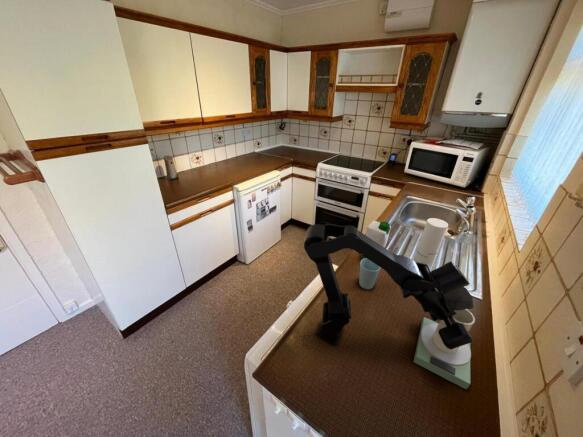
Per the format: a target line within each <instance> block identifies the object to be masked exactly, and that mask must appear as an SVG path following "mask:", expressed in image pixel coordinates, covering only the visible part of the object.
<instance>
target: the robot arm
mask: <svg viewBox="0 0 583 437" xmlns="http://www.w3.org/2000/svg"><path fill="white" fill-rule="evenodd" d="M330 237H334V238H332V239H330ZM344 249H352V250H353V251H355V252H356V253H358V254H359V255H361V257H362V256H364V257H365V258H367V259H368V260H370V261H372V262H373V263H375V264H376V265H378V266H379V267H381V269H382V270H384V271H385V272H386V273H387V274H388V275H389V277H390V278H391V280H392V281H393V282H394V283H395V284H396V285H397V286H398V287H399V289H400V292H401V295H402V298H403V299H407V298H409V297H411V296H412V297H413V298H414V299H415V300H416V301H417V302H418V303H419V304H420V305H421V308H422V311H423V312H424V313H428V314H429V317H430V318H431V320H432V321H434V322H436V321H440V320H444V322H445V324H446V326H447V327H444V328H441V329H440V330H439V332H438V333H439V335H440V337H441V339H442V342H443V344H444V345H445V346H446V347H447V348H448V349H454V348H457V347H460V346H463V345H466V344H469V343H470V344H471V343H473V340H474V338H473V337H472V335H471V333H470V331H469V332H468V330H467V329H466V327H465V325H464V324H462V323H458V322H455V320H454V318H453V315H455V314H457V313H456V311H455V310H464V309H467V310H473V309H474V308H475V305H474V298H473V296H472V294H471V293H470V291H469V290H468V289H467V287H466V286H469V285H471V283H470V282H469V280H468V278H467V277H466V275H465V274H464V273H463V271H462V270H461V269H460V267H459V266H458V265H457V264H455V263H454V262H453V261H447V262H446V263H445V264H443V265H441V266H439V267H437V268H434V269H433V270H432V269H431V270H430V268H429V266H428V265H427V264H423V263H418V262H415V261H414V259H411V258H409V257H408V256H405V255H403V254H396V253H393V252H392V251H390V250H388V249H387V248H384V247H382V246H381V245H379V244H378V243H376V242H375V241H373V240H372V239H370V238H369V237H367V236H366V234H364V233H363V232H361V231H360V230H359V229H358V228H357V227H356V226H354V225H352V224H351V225H349V224H348V225H339V224H333V223H326V224H319V223H315V224H311V225H310V226H309V227H308V228H307V230H306V234H305V238H304V241H303V250H304V251H305V252H306V255H307V256H308V258H309V260H310V261H312V262H313V263H314V264H315V266H316V268H317V272H318V274H319V278H320V280H321V284H322V287H323V289H324V292H325V296H326V297H327V301H325V302H323V304H322V315H321V324H320V327H319V328H318V330H317V331H316V336H317V337H320V338H321V339H323V340H325V341H326V342H328V343H330V344H331V345H333V346H334V345H336V343H337V342H338V340H339V338H340V336H341V334H342V332H343V328H344V327H345V326H346V325H348V324H349V323H350V320H351V319H352V306H351V305H352V304H351V300H350V299H349V293H348V292H346V293H344V292H342V291H341V288H340V285H339V282H338V277H337V275H336V272H335V268H334V264H333V261H332V258H331V254H335V253H337V252H339V251H341V250H344ZM420 272H421V273H420ZM421 274H422V275H421ZM422 276H423V278H422ZM448 318H449V319H450V321H451V323H452V324H451V323H450V321H449V319H448Z"/></svg>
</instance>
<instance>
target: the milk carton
mask: <svg viewBox="0 0 583 437" xmlns="http://www.w3.org/2000/svg"><path fill="white" fill-rule="evenodd" d="M391 228H392V226H391V224H390V223H389V222H387V221H376V220H373V221H372V222H370V223H369V224H368V225H367V226H366V231H365V235H366V236H367V237H369V238H370V239H372V240H373V241H375V242H376V243H378V244H379V245H381V246H382V247H384V248H385V249H387V243H388V240H389V236H390V233H391ZM362 259H365V257H364V256H362V255H361V260H362ZM361 260H360V261H361Z"/></svg>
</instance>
